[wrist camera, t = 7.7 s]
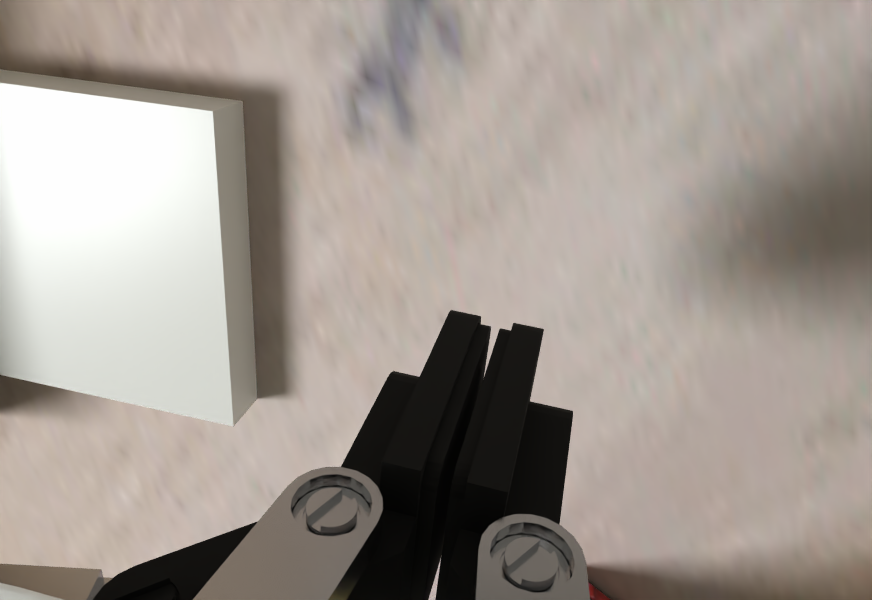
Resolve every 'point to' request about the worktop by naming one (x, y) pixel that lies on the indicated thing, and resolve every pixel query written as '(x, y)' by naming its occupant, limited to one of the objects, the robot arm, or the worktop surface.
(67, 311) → the cutting board
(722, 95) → the worktop surface
